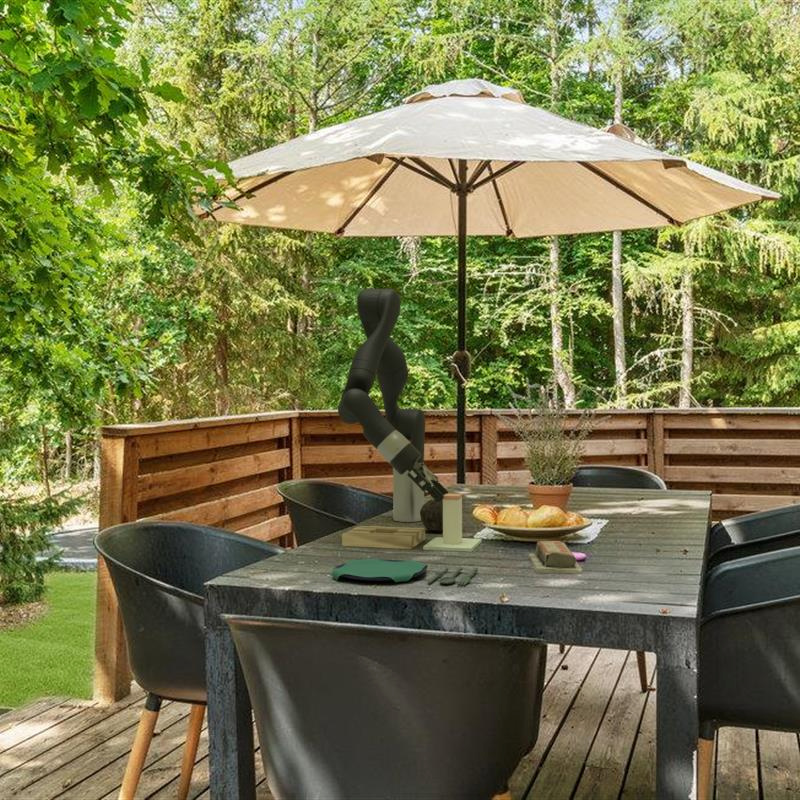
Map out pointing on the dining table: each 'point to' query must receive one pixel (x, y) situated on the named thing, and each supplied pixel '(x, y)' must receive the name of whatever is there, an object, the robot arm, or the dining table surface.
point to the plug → (452, 519)
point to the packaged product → (554, 558)
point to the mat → (452, 545)
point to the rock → (432, 515)
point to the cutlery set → (393, 571)
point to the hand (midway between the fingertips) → (443, 497)
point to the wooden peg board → (383, 537)
